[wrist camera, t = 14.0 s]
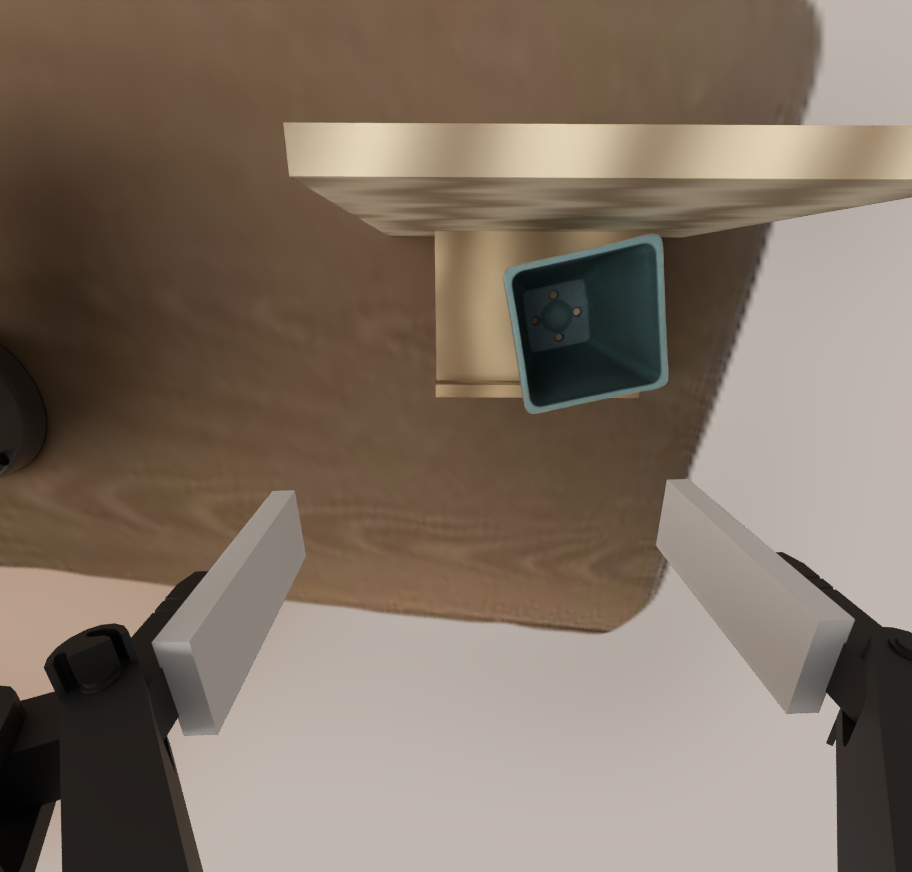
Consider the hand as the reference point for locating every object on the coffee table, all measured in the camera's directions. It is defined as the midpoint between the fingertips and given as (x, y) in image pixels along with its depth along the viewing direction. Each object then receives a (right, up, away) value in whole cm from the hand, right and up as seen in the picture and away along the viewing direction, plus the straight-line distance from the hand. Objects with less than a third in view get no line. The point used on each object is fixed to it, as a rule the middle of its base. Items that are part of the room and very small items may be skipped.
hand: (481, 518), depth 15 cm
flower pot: (+7, +12, +18) cm, 23 cm away
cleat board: (+5, +14, +22) cm, 26 cm away
